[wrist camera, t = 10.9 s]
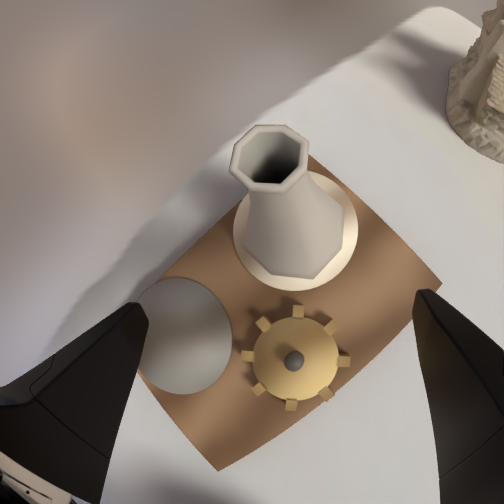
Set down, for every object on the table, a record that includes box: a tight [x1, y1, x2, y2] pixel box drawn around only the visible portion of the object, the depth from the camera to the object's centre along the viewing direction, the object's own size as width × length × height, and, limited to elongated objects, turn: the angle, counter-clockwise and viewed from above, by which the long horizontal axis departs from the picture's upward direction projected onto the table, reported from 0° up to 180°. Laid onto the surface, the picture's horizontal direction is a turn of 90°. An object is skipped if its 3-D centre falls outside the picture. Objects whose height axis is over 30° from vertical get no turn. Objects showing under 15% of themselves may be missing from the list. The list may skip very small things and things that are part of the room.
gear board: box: [137, 154, 442, 471], centre depth 20 cm, size 15×22×4 cm
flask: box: [229, 125, 345, 280], centre depth 16 cm, size 7×7×10 cm
